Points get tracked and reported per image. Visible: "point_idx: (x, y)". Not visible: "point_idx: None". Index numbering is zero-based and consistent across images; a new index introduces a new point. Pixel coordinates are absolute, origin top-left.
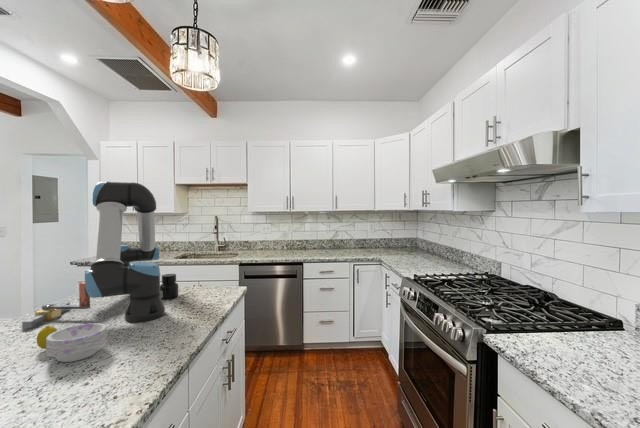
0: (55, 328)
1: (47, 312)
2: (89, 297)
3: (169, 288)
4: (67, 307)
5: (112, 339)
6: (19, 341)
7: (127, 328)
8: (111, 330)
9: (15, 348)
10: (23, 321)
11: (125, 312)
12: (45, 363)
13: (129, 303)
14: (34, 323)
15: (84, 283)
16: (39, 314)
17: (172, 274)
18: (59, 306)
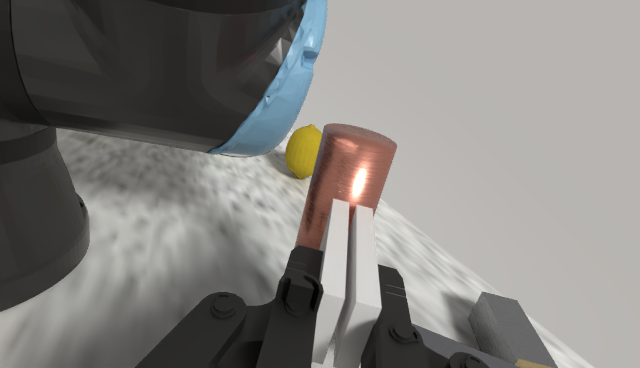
0: (296, 132)
1: (517, 363)
2: (296, 239)
3: None
4: (422, 331)
5: (165, 158)
6: (406, 237)
7: (109, 185)
8: (162, 194)
9: (379, 209)
10: (518, 304)
11: (80, 224)
12: (278, 149)
13: (62, 161)
14: (481, 318)
15: (345, 125)
16: None
17: None
18: (490, 359)
